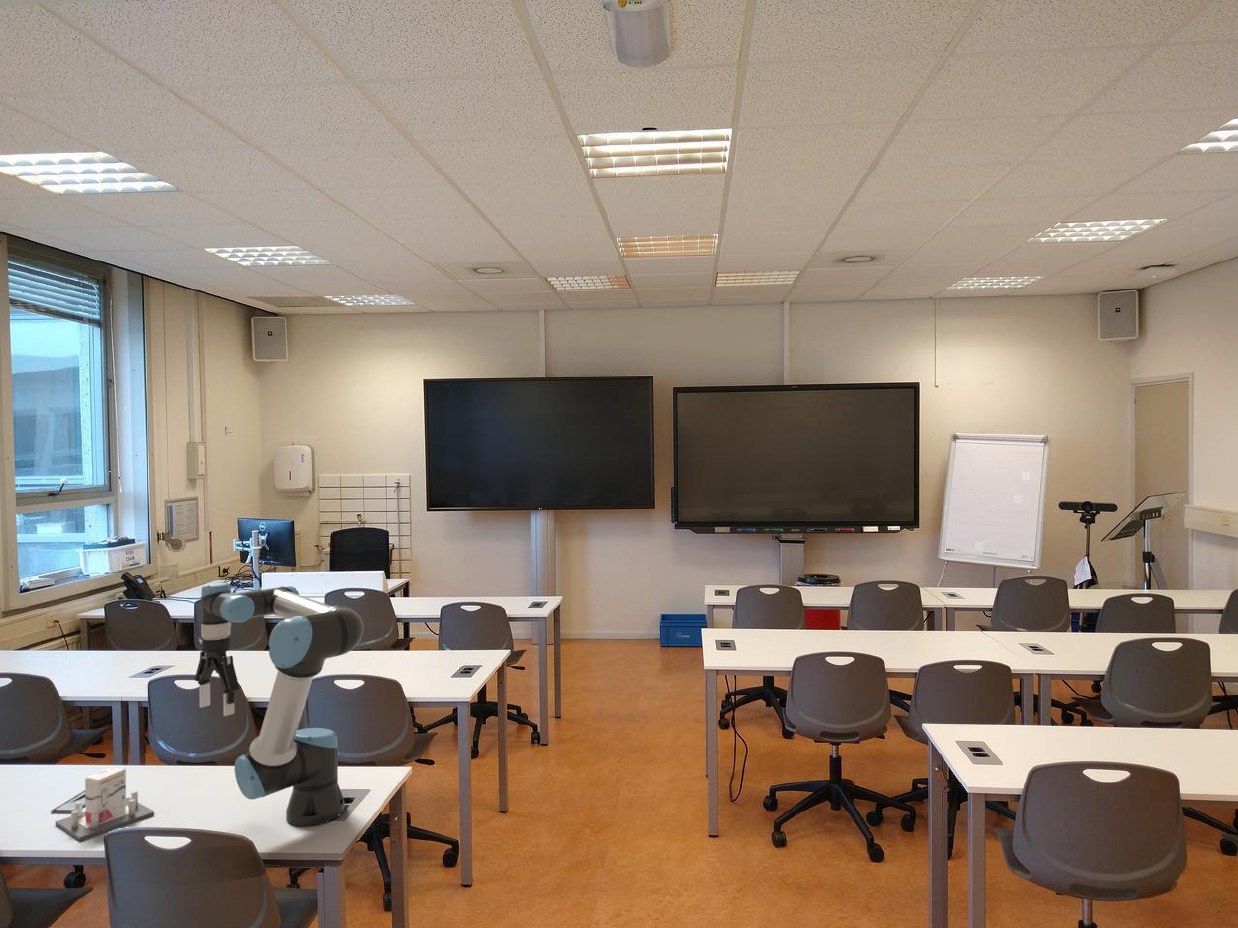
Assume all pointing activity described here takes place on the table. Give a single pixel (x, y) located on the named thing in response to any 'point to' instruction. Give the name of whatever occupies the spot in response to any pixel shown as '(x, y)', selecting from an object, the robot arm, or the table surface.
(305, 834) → the table surface
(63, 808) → the smartphone
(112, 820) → the pin tray
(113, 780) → the ink box
